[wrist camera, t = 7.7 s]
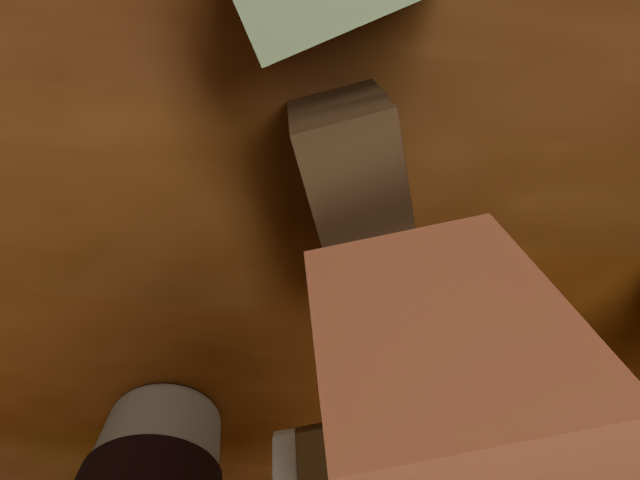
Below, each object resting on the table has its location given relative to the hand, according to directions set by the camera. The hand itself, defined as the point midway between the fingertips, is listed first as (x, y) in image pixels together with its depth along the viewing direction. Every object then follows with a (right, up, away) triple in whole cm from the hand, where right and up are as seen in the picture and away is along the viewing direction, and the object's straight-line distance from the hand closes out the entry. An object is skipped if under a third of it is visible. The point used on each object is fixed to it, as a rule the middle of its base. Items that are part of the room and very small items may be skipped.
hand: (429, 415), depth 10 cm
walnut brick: (-1, +8, +12) cm, 15 cm away
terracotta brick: (0, +1, +1) cm, 2 cm away
